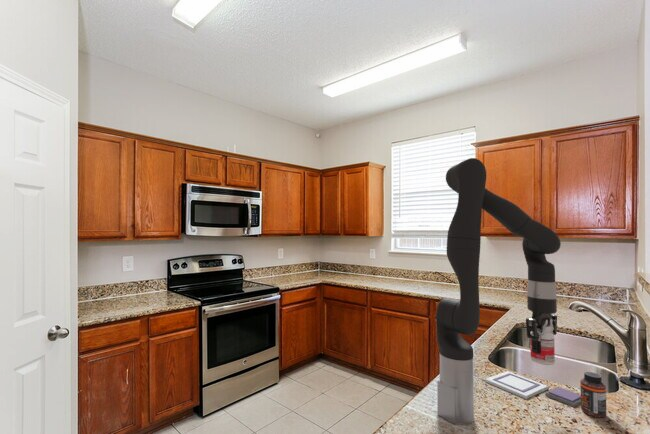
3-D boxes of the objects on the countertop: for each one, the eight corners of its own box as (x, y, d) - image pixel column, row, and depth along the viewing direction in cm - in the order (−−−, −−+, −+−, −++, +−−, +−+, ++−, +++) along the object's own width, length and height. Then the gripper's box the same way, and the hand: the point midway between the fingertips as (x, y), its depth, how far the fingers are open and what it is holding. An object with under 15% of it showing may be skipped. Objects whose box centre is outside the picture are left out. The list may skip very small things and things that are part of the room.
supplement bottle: (575, 407, 100) (574, 369, 101) (595, 407, 100) (594, 370, 100) (591, 418, 94) (590, 378, 95) (612, 419, 94) (611, 378, 94)
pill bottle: (532, 356, 103) (532, 321, 104) (556, 361, 99) (555, 325, 100) (528, 361, 99) (528, 324, 99) (552, 367, 95) (552, 329, 95)
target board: (526, 399, 104) (526, 395, 104) (485, 381, 116) (485, 378, 116) (548, 389, 112) (547, 385, 112) (507, 373, 124) (507, 370, 124)
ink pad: (574, 407, 100) (574, 402, 100) (545, 395, 107) (545, 391, 107) (585, 400, 104) (585, 395, 104) (557, 390, 111) (557, 385, 111)
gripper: (542, 299, 93) (543, 359, 92) (566, 296, 101) (567, 351, 100) (516, 295, 100) (516, 351, 99) (540, 292, 107) (541, 344, 106)
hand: (542, 350), depth 99 cm, fingers closed on pill bottle, 6 cm apart
